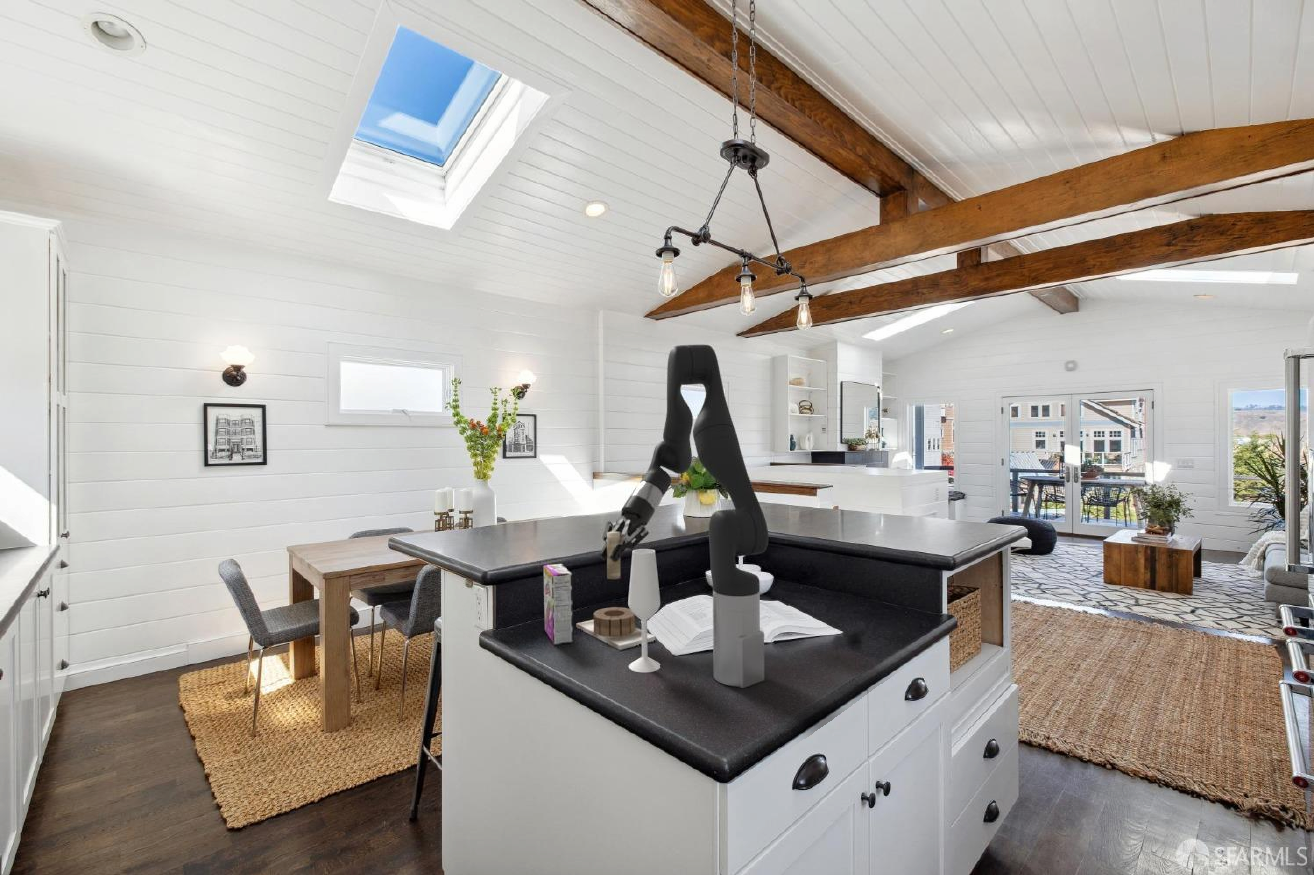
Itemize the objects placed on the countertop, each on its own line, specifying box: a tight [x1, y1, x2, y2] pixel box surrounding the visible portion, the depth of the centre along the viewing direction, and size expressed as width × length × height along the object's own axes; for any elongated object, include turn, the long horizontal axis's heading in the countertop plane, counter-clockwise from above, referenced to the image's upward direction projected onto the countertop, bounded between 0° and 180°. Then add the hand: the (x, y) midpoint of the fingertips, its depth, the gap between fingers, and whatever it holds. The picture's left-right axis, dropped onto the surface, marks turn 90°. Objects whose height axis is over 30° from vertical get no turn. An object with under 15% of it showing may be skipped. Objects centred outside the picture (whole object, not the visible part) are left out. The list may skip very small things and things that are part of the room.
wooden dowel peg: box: [606, 531, 621, 580], centre depth 142 cm, size 3×3×11 cm
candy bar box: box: [543, 563, 574, 645], centre depth 140 cm, size 11×5×16 cm, turn 22°
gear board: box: [575, 606, 656, 651], centre depth 142 cm, size 20×10×5 cm, turn 37°
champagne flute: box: [627, 548, 661, 673], centre depth 122 cm, size 7×7×24 cm
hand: (607, 558), depth 141 cm, fingers closed on wooden dowel peg, 3 cm apart
